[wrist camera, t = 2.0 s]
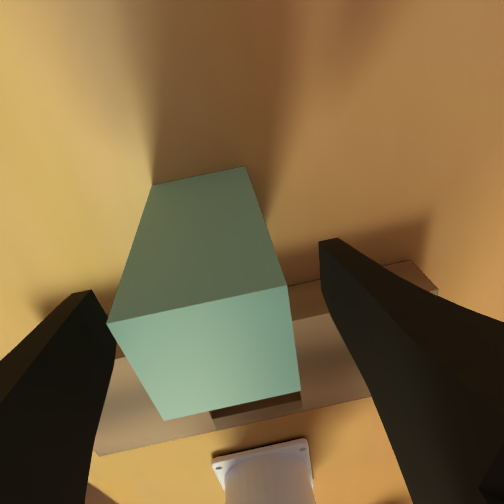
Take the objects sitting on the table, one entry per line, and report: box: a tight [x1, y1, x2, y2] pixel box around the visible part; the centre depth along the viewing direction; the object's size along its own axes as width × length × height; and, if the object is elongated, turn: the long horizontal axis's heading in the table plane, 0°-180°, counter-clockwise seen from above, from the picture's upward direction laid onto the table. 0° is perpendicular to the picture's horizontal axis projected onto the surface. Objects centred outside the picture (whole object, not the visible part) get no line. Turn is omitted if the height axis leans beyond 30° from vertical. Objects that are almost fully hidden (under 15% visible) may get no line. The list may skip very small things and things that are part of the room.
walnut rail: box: [93, 260, 439, 457], centre depth 19 cm, size 8×20×2 cm, turn 99°
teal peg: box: [106, 166, 301, 421], centre depth 12 cm, size 4×4×8 cm
